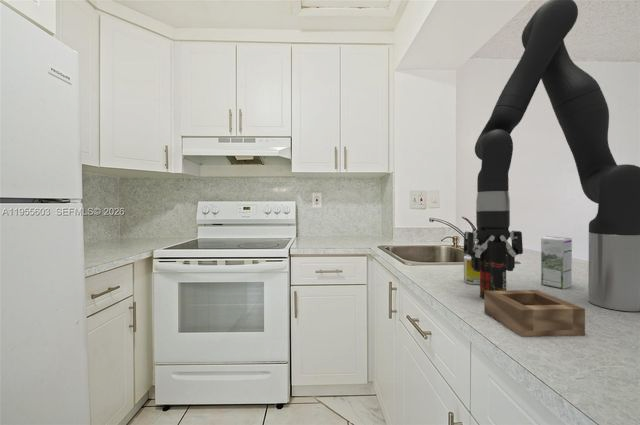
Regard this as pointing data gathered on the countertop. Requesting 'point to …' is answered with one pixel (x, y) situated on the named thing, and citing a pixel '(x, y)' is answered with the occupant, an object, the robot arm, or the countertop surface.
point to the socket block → (534, 313)
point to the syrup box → (556, 262)
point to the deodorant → (493, 268)
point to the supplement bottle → (470, 272)
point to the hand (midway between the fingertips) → (492, 270)
